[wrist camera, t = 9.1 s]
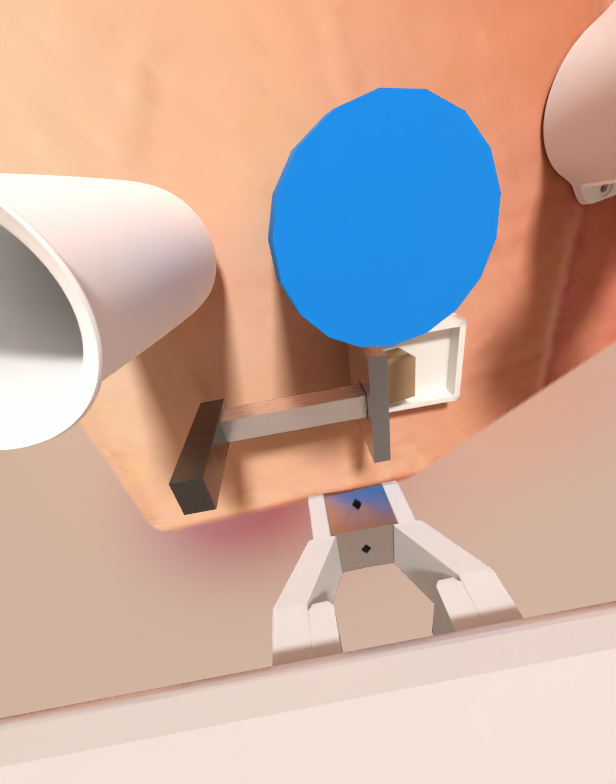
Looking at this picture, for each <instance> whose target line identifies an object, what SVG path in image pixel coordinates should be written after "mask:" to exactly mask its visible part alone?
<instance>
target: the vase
mask: <svg viewBox="0 0 616 784" xmlns="http://www.w3.org/2000/svg"><path fill="white" fill-rule="evenodd" d="M215 277H216V255H215V250H214V246H213V243H212V240H211V237H210V235H209V233H208V231H207V229H206V227H205V226H204V224H203V222H202V221H201V220H200V218H199V217H198V216H197V214H196V213H195V212H194V211H193V210H192V209H191V208H190V207H189V206H188V205H187V204H186V203H184V202H183V201H182V200H181V199H179V198H178V197H176V196H175V195H173V194H171V193H170V192H168V191H165V190H163V189H161V188H158V187H155V186H152V185H148V184H144V183H139V182H132V181H123V180H112V179H99V178H85V177H69V176H50V175H28V174H3V173H0V450H5V449H15V448H22V447H27V446H32V445H36V444H39V443H42V442H45V441H48V440H50V439H52V438H54V437H57V436H59V435H61V434H62V433H64V432H65V431H67V430H69V429H70V428H71V427H73V426H74V425H75V424H76V423H77V422H79V421H80V420H81V419H82V418H83V417H84V415H85V414H86V413H87V412H88V410H89V409H90V408H91V406H92V404H93V403H94V401H95V399H96V397H97V394H98V392H99V389H100V386H101V382H102V381H103V380H104V379H106V378H107V377H108V376H110V375H111V374H113V373H114V372H115V371H117V370H118V369H120V368H121V367H122V366H124V365H125V364H127V363H128V362H130V361H131V360H132V359H134V358H135V357H136V356H138V355H139V354H141V353H142V352H143V351H145V350H146V349H147V348H149V347H150V346H152V345H153V344H154V343H156V342H157V341H158V340H160V339H161V338H162V337H164V336H165V335H166V334H168V333H169V332H170V331H172V330H173V329H174V328H176V327H177V326H178V325H179V324H181V323H182V322H183V321H184V320H186V319H187V318H188V317H189V316H191V315H192V314H193V313H194V312H195V311H196V310H197V309H198V308H199V307H200V306H201V305H202V304H203V303H204V302H205V300H206V299H207V297H208V296H209V294H210V292H211V290H212V288H213V285H214V281H215Z"/></svg>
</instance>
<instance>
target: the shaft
mask: <svg viewBox="0 0 616 784" xmlns="http://www.w3.org/2000/svg"><path fill="white" fill-rule="evenodd" d="M365 417H367V403H366V395H365V393H364V391H363V389H362V387H361V385H360V384H356V385H350V386H345V387H339V388H334V389H328V390H323V391H317V392H312V393H306V394H301V395H295V396H289V397H284V398H278V399H273V400H267V401H262V402H256V403H251V404H245V405H239V406H234V407H228V408H227V406H226V403H225V400H224V399H221V400H215V401H209V402H204V403H201V404H200V406H199V409H198V411H197V414H196V416H195V419H194V422H193V424H192V427H191V429H190V432H189V434H188V437H187V439H186V442H185V444H184V447H183V450H182V452H181V455H180V457H179V460H178V462H177V465H176V467H175V470H174V472H173V475H172V478H171V480H170V483H169V485H170V487H171V489H172V491H173V493H174V495H175V497H176V499H177V501H178V503H179V505H180V507H181V509H182V511H183V513H184V515H187V514H192V513H198V512H203V511H209V510H214V509H216V507H217V502H218V497H219V492H220V487H221V481H222V476H223V471H224V466H225V461H226V456H227V451H228V446H229V442H233V441H238V440H244V439H249V438H255V437H260V436H266V435H272V434H277V433H283V432H288V431H294V430H299V429H305V428H310V427H316V426H321V425H327V424H332V423H338V422H343V421H349V420H354V419H360V418H365Z"/></svg>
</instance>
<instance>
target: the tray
mask: <svg viewBox="0 0 616 784" xmlns="http://www.w3.org/2000/svg"><path fill="white" fill-rule="evenodd" d="M466 323H467V319H465V318H463V317H461V316H459V315H457V314H455V313H454V314H451V315H449V316H448V317H447V318H445V319H444V320H443V321H442V322H440V323H439V324H438V325H436V326H435V327H434V328H432V329H431V330H430V331H429V332H427V333H426V334H423V335H420V336H418V337H415V338H412V339H410V340H407V341H405V342H402V343H399V344H397V345H394V346H380V347H381V348H382V349H383V351H387V350H391V349H394V348H398V347H399V348H400V349H402V350H404V351H406V352H408V353H409V354H411V355H413V356H415V357H416V366H415V396H414V397H411V398H408V399H405V400H401V401H398V402H395V403H392V404H389V412H394V411H400V410H405V409H411V408H416V407H422V406H427V405H433V404H438V403H444V402H449V401H455V400H459V395H460V385H461V374H462V364H463V354H464V344H465V333H466Z"/></svg>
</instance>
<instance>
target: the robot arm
mask: <svg viewBox="0 0 616 784" xmlns="http://www.w3.org/2000/svg"><path fill="white" fill-rule="evenodd" d="M543 132H544V144H545V149H546V153H547V156H548V158H549V161H550V163H551V165H552V166H553V168H554V169H555V170H556V171H557V173H559V174H560V175H561V176H562V177H563V178H565V179H566V180H567V181H568V182H569V183H570V184H571V185H572V187H573V190H574V193H575V196H576V198H577V200H578V202H579V203H580V204H582V205H587V204H593V203H596V202H598V201H601V200H604V199H606V198H609V197H611V196H614V195H616V0H614V1H613V2H612V4H611V5H610V6H609V8H608V9H607V10H606V11H605V12H604V13H603V14H602V15H601V16H600V17H599V18H598V19H597V20H596V21H595V22H594V23H593V24H592V25H590V26H589V27H588V29H587V30H586V31H585V32H584V33H583V34H582V35H581V36H580V38H579V39H578V40H577V41H576V43H575V44H574V45H573V47H572V48H571V50H570V51H569V53H568V54H567V56H566V58H565V59H564V61H563V63H562V65H561V67H560V69H559V71H558V73H557V75H556V77H555V80H554V82H553V85H552V87H551V90H550V93H549V97H548V101H547V105H546V110H545V116H544V130H543ZM601 187H602V190H601ZM600 190H601V191H600ZM323 495H324V497H323ZM324 501H325V502H324ZM308 504H309V511H310V519H311V528H312V535H313V540H309V541H308V542H307V544H306V546H305V548H304V550H303V552H302V554H301V556H300V558H299V560H298V562H297V564H296V566H295V568H294V570H293V572H292V574H291V575H290V578H289V579H288V581H287V583H286V585H285V587H284V589H283V591H282V593H281V595H280V597H279V599H278V601H277V603H276V605H275V607H274V609H273V666H271V667H266V668H261V669H256V670H251V671H245V672H240V673H235V674H230V675H224V676H219V677H214V678H209V679H203V680H199V681H193V682H188V683H182V684H177V685H172V686H167V687H162V688H157V689H151V690H146V691H141V692H135V693H130V694H125V695H119V696H114V697H109V698H104V699H99V700H94V701H88V702H83V703H78V704H72V705H68V706H62V707H57V708H52V709H46V710H41V711H36V712H30V713H26V714H20V715H15V716H9V717H4V718H0V784H616V601H613V602H608V603H602V604H597V605H592V606H587V607H582V608H577V609H571V610H566V611H561V612H556V613H551V614H545V615H540V616H535V617H529V618H523V617H522V615H521V613H520V612H519V610H518V609H517V607H516V605H515V604H514V602H513V601H512V599H511V598H510V596H509V594H508V593H507V591H506V590H505V588H504V586H503V585H502V584H501V582H500V580H499V579H498V577H497V575H496V574H495V572H494V571H493V569H492V568H490V567H489V566H487V565H486V564H484V563H483V562H482V561H480V560H479V559H477V558H476V557H474V556H473V555H471V554H469V553H468V552H467V551H465V550H464V549H463V548H461V547H459V546H458V545H457V544H455V543H454V542H452V541H451V540H449V539H448V538H446V537H445V536H443V535H442V534H441V533H439V532H438V531H436V530H435V529H433V528H432V527H430V526H429V525H427V524H426V523H425V522H423V521H422V520H415V517H414V516H413V514H412V512H411V509H410V507H409V505H408V503H407V501H406V499H405V497H404V495H403V493H402V491H401V488H400V486H399V484H398V483H397V482H396V481H391V482H386V483H381V484H375V485H370V486H364V487H359V488H354V489H351V490H345V491H338V492H332V493H325V494H321V495H314V496H308ZM389 563H395V565H396V566H397V567H398V568H399V569H400V570H401V571H402V572H403V573H404V574H405V575H406V576H407V577H408V578H409V579H410V580H411V581H412V582H413V583H414V584H415V585H416V586H417V587H418V588H419V589H420V590H421V591H422V592H423V593H424V594H425V595H426V596H427V597H428V598H429V599H430V600H431V601H432V602H433V603H434V604H435V605H434V616H433V627H432V633H433V636H429V637H424V638H418V639H413V640H408V641H403V642H397V643H392V644H387V645H382V646H376V647H371V648H366V649H361V650H355V651H350V652H345V653H343V650H342V645H341V640H340V635H339V630H338V625H337V619H336V614H335V609H334V605H333V602H334V598H335V595H336V592H337V589H338V586H339V583H340V580H341V577H342V572H346V571H351V570H356V569H361V568H365V567H370V566H377V565H383V564H389Z"/></svg>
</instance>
